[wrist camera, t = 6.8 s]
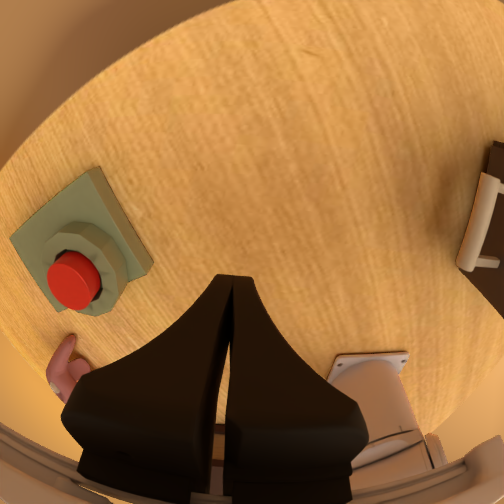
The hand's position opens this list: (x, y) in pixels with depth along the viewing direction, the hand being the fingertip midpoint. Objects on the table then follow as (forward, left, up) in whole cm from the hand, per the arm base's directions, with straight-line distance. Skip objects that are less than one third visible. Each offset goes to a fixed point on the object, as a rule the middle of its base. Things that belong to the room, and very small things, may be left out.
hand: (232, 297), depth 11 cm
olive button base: (-3, +13, -9) cm, 16 cm away
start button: (-4, +11, -5) cm, 13 cm away
